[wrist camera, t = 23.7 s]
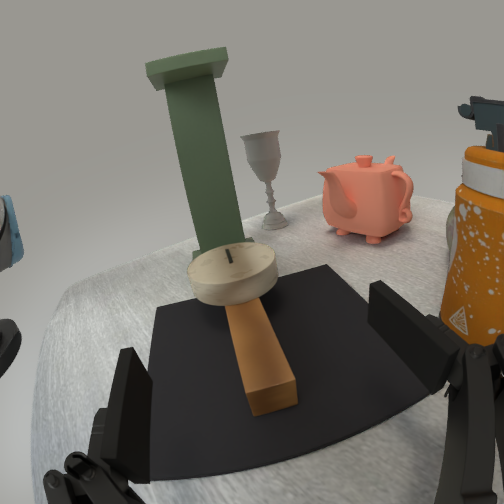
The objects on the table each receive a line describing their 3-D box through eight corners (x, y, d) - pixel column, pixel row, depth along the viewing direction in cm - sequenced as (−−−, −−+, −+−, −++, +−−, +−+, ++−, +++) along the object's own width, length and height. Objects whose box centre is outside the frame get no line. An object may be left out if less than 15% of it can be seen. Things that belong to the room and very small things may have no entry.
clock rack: (195, 285, 37) (145, 63, 25) (194, 259, 45) (154, 79, 33) (266, 267, 38) (226, 46, 26) (253, 245, 46) (219, 66, 34)
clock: (213, 425, 16) (186, 377, 14) (199, 293, 33) (187, 252, 31) (336, 390, 17) (339, 335, 15) (269, 276, 34) (262, 234, 32)
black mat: (144, 480, 12) (140, 478, 12) (158, 311, 32) (156, 307, 32) (441, 386, 15) (444, 381, 14) (327, 268, 35) (326, 263, 34)
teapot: (325, 254, 38) (316, 165, 33) (324, 217, 53) (317, 153, 48) (423, 248, 34) (424, 160, 29) (396, 213, 49) (393, 149, 44)
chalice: (251, 231, 53) (233, 137, 45) (263, 219, 58) (249, 135, 51) (288, 231, 49) (272, 130, 42) (297, 218, 55) (284, 129, 48)
